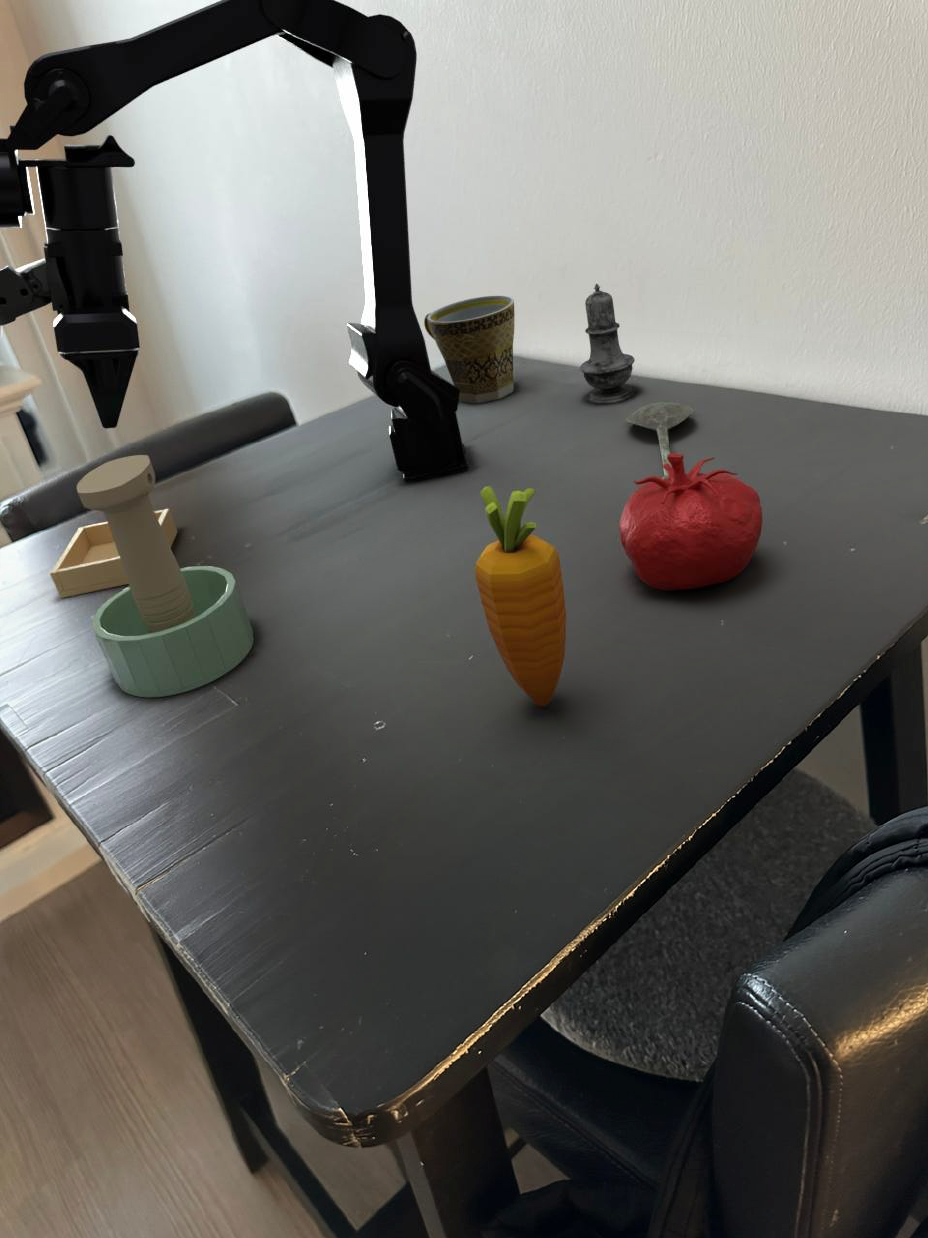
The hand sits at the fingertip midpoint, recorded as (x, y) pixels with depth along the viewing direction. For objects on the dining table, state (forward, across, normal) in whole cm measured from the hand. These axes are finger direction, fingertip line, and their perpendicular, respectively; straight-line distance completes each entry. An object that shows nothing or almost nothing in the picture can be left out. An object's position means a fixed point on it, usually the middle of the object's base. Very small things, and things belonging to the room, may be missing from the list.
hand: (107, 414), depth 91 cm
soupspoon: (+4, +15, +48) cm, 50 cm away
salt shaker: (+3, -4, +52) cm, 52 cm away
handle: (+13, +22, +3) cm, 26 cm away
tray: (+14, -1, -1) cm, 15 cm away
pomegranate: (+6, +36, +39) cm, 53 cm away
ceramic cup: (+5, -19, +42) cm, 46 cm away
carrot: (+9, +45, +24) cm, 51 cm away
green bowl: (+14, +22, +3) cm, 26 cm away
